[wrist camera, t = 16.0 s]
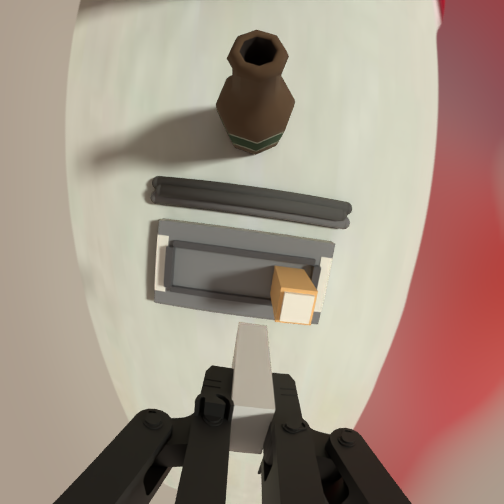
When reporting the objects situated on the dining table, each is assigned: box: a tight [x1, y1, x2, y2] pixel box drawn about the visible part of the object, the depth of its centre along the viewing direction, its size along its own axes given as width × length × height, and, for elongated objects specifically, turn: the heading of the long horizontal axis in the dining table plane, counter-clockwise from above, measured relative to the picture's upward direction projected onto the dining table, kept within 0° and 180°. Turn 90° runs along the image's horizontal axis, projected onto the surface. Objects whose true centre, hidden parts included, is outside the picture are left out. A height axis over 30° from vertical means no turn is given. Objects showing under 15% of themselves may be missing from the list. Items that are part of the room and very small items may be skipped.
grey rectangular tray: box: [154, 219, 335, 324], centre depth 40 cm, size 12×24×3 cm, turn 82°
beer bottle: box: [216, 30, 295, 155], centre depth 26 cm, size 8×8×24 cm
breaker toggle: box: [270, 266, 318, 325], centre depth 35 cm, size 4×4×10 cm
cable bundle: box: [151, 176, 352, 229], centre depth 38 cm, size 28×4×3 cm, turn 82°
